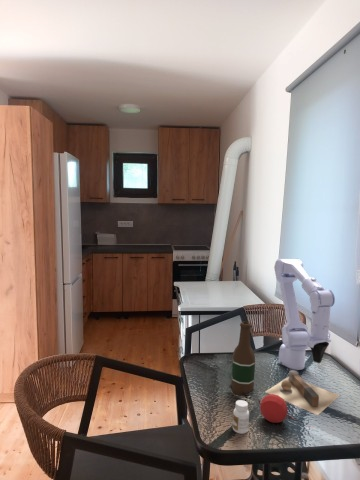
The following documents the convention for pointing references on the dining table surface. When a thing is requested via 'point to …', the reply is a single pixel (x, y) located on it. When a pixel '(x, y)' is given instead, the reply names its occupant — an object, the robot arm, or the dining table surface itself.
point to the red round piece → (273, 408)
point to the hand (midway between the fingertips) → (317, 361)
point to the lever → (304, 388)
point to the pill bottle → (241, 417)
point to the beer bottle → (243, 363)
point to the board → (296, 398)
